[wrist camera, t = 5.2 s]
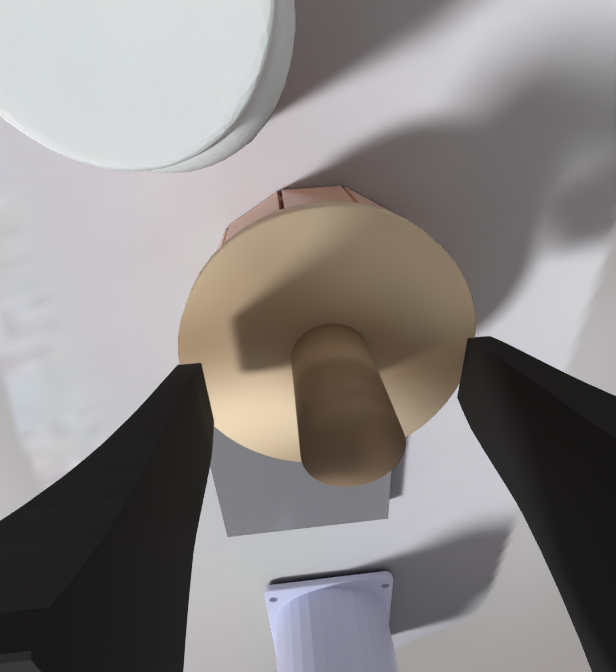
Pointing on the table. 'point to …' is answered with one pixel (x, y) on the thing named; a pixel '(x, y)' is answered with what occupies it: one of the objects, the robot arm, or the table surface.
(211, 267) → the lid
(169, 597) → the robot arm
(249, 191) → the table surface
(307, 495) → the coaster
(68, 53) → the pill bottle
